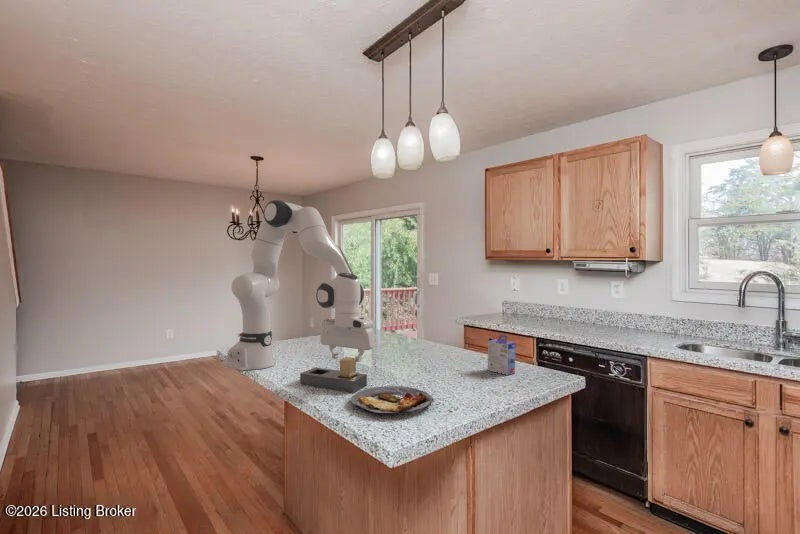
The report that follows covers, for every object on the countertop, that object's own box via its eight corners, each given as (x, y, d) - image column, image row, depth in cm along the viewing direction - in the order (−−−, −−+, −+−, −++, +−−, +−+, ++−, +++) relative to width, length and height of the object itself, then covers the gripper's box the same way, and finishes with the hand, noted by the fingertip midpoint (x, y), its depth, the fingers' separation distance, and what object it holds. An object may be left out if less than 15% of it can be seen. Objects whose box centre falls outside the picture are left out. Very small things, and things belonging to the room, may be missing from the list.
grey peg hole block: (300, 384, 144) (300, 373, 144) (315, 377, 152) (315, 367, 152) (353, 393, 135) (353, 381, 135) (366, 385, 143) (366, 374, 143)
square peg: (339, 388, 140) (339, 359, 140) (345, 385, 144) (346, 357, 144) (349, 389, 138) (349, 360, 138) (355, 386, 142) (355, 358, 142)
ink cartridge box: (516, 373, 160) (516, 336, 160) (508, 375, 156) (508, 338, 156) (495, 368, 167) (495, 333, 167) (487, 370, 164) (487, 334, 163)
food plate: (448, 404, 124) (447, 393, 124) (393, 427, 108) (393, 414, 108) (392, 388, 142) (391, 378, 142) (337, 405, 126) (337, 394, 126)
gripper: (317, 318, 142) (316, 358, 142) (368, 324, 133) (367, 365, 134) (327, 316, 148) (326, 354, 148) (377, 321, 139) (376, 361, 139)
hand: (346, 359), depth 141 cm, fingers open, 8 cm apart
